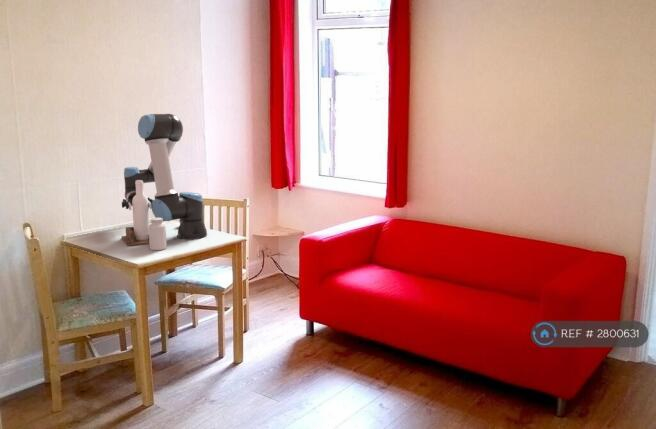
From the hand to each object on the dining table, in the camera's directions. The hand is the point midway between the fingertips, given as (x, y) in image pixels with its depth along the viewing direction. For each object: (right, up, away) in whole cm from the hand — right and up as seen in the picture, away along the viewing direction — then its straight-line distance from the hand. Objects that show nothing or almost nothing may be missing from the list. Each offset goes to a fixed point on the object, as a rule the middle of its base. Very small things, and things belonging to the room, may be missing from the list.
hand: (140, 206), depth 303 cm
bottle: (-2, -16, +8) cm, 18 cm away
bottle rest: (-1, -17, +8) cm, 19 cm away
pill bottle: (+11, -21, -6) cm, 24 cm away
